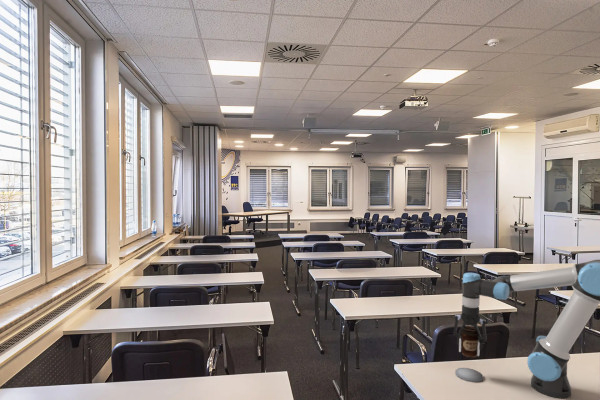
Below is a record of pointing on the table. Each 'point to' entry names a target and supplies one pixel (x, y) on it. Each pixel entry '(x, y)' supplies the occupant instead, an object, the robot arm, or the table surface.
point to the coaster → (469, 374)
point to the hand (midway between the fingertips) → (469, 352)
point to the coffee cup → (469, 341)
